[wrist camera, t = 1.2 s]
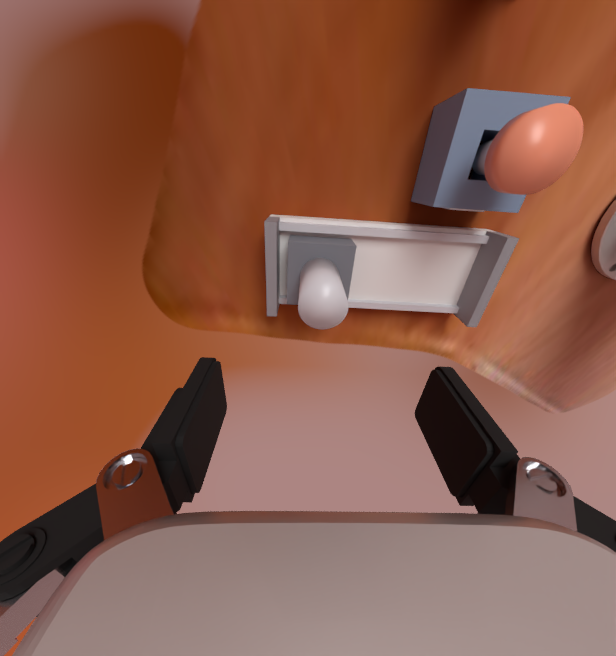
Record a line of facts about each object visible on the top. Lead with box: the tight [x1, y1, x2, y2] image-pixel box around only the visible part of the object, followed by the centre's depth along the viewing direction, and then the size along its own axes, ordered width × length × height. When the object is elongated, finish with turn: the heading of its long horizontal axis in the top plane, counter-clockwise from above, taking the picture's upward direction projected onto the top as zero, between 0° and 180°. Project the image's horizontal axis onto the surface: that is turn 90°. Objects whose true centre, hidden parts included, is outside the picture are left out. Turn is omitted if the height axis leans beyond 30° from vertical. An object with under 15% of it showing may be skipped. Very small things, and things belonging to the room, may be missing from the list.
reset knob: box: [472, 103, 583, 195], centre depth 17 cm, size 4×4×5 cm
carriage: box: [287, 235, 357, 329], centre depth 22 cm, size 6×6×9 cm
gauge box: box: [411, 88, 571, 213], centre depth 20 cm, size 7×7×5 cm
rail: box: [265, 215, 519, 327], centre depth 26 cm, size 22×9×4 cm, turn 86°
